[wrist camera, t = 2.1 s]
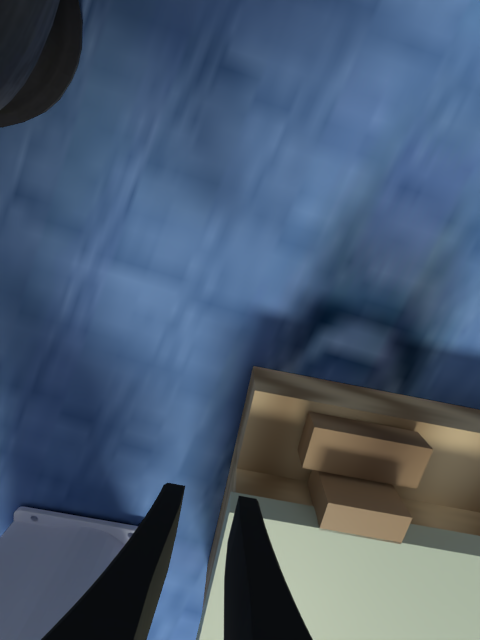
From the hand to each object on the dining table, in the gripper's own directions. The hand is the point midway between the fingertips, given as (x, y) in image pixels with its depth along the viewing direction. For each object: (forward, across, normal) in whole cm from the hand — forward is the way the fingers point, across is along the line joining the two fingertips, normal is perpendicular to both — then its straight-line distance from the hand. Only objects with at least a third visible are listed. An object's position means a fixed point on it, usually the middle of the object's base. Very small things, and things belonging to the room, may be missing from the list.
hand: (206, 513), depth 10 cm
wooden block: (+6, -7, 0) cm, 10 cm away
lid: (+6, -10, +9) cm, 14 cm away
